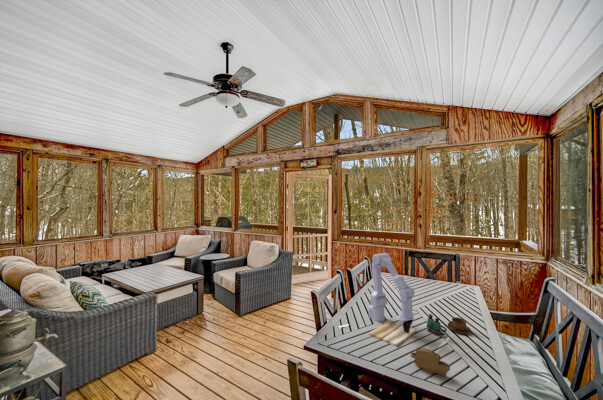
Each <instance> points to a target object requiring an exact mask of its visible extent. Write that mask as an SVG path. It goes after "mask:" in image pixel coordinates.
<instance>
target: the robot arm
mask: <svg viewBox="0 0 603 400" xmlns="http://www.w3.org/2000/svg"><path fill="white" fill-rule="evenodd" d="M371 260H372V262H371V270H372V284H373V292H372V293H371V294H370V300H369V301H370V305H369V306H368V318H369V319H371V320H373V321H376V322H384V321H385V308H386V305H387V304H388V300H387V299H388V298H387V295H386V293H385V292H383V281H382V280H383V279H382V278H383V277H382V267H384V268H386V269H387V271H388V272H389V274H390V275H391V276H392V277H393V283H394V284H395V286H396V288H397V289H398V291H399V292H398V293H399V296H400V302H401V312H400V313H401V315H400V318H399V320H398V323H400V324H401V325H403V328H404V332H406V333H409V330H410V327H412V323H413V322H414V320H415V317H414V316H415V315H414V314H415V313H414V312H413V297H414V296H415V291H414V288H413V287H412V286H410V285H408V284H407V282H406V281H405V278H404V277H403V276H402V275H400V274H399V273H398V271H397V269H396V267H395V265H394V264H393V262H392V257H391V256H390V255H389V253H388V252H384V253H383V252H382V253H375V254H374V255H373V256H372V257H371Z"/></svg>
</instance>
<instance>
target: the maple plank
mask: <svg viewBox="0 0 603 400" xmlns="http://www.w3.org/2000/svg"><path fill="white" fill-rule="evenodd" d="M416 331H417V329H416V328H415V327H414V328H413V327H412V326H410V330H409V333H406V332H404V328H403V325H402V324H401V326H400V327H399V328H397V329H396V330H395V331H393V332H392V333H390V334H389V335H388V336H386V337H385V338H383V341H382V342H385V343H387V344H389V345H391V346H394V347H399V346H400V345H401V344H402V343H404V341H406V340H407V339H408V338H409V337H410V336H412V335H413V334H414V333H415V332H416Z"/></svg>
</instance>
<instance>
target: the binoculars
mask: <svg viewBox="0 0 603 400" xmlns="http://www.w3.org/2000/svg"><path fill="white" fill-rule="evenodd" d="M433 318H434V315H433V314H431V313H429V314H428V318H427V321H426V328H427V330H426V332H428V333H432V332H433V333H432V334H433V335H434V336H436V337H439V336H444V335H445V332H447V331H448V330H447V329H448V328H446V326H443V325H441V322H440V318H439V317H438V318H434V319H433ZM433 335H432V336H433Z"/></svg>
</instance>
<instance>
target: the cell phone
mask: <svg viewBox="0 0 603 400" xmlns="http://www.w3.org/2000/svg"><path fill="white" fill-rule="evenodd" d="M349 325H350V324H349V323H348V324H342V325H338V328H339V329H340V330H343V329H345V328H347V327H348V326H349Z"/></svg>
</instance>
